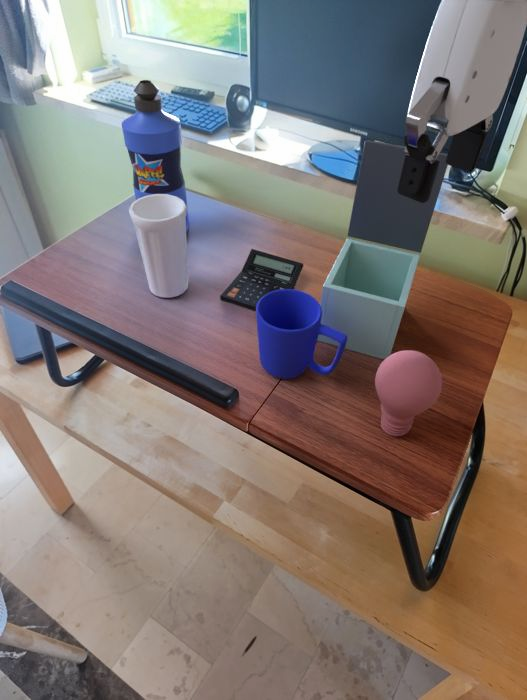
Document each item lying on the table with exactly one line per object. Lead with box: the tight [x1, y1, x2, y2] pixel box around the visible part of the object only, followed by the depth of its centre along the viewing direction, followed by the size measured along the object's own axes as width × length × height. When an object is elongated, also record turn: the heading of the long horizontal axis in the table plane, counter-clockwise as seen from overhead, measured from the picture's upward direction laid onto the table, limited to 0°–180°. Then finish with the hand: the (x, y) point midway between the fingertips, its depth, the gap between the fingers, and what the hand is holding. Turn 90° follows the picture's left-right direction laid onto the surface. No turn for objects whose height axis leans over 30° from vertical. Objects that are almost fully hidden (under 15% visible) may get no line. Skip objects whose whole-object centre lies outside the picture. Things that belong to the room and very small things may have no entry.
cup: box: [128, 194, 189, 299], centre depth 72 cm, size 8×8×14 cm
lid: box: [346, 139, 449, 253], centre depth 66 cm, size 14×11×5 cm
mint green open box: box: [317, 237, 421, 361], centre depth 69 cm, size 13×11×10 cm
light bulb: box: [374, 349, 443, 437], centre depth 55 cm, size 7×7×12 cm
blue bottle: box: [121, 79, 190, 233], centre depth 81 cm, size 9×9×25 cm
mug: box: [255, 289, 348, 380], centre depth 62 cm, size 8×12×10 cm
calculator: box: [219, 248, 304, 312], centre depth 77 cm, size 9×12×3 cm
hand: (437, 181), depth 49 cm, fingers open, 9 cm apart
